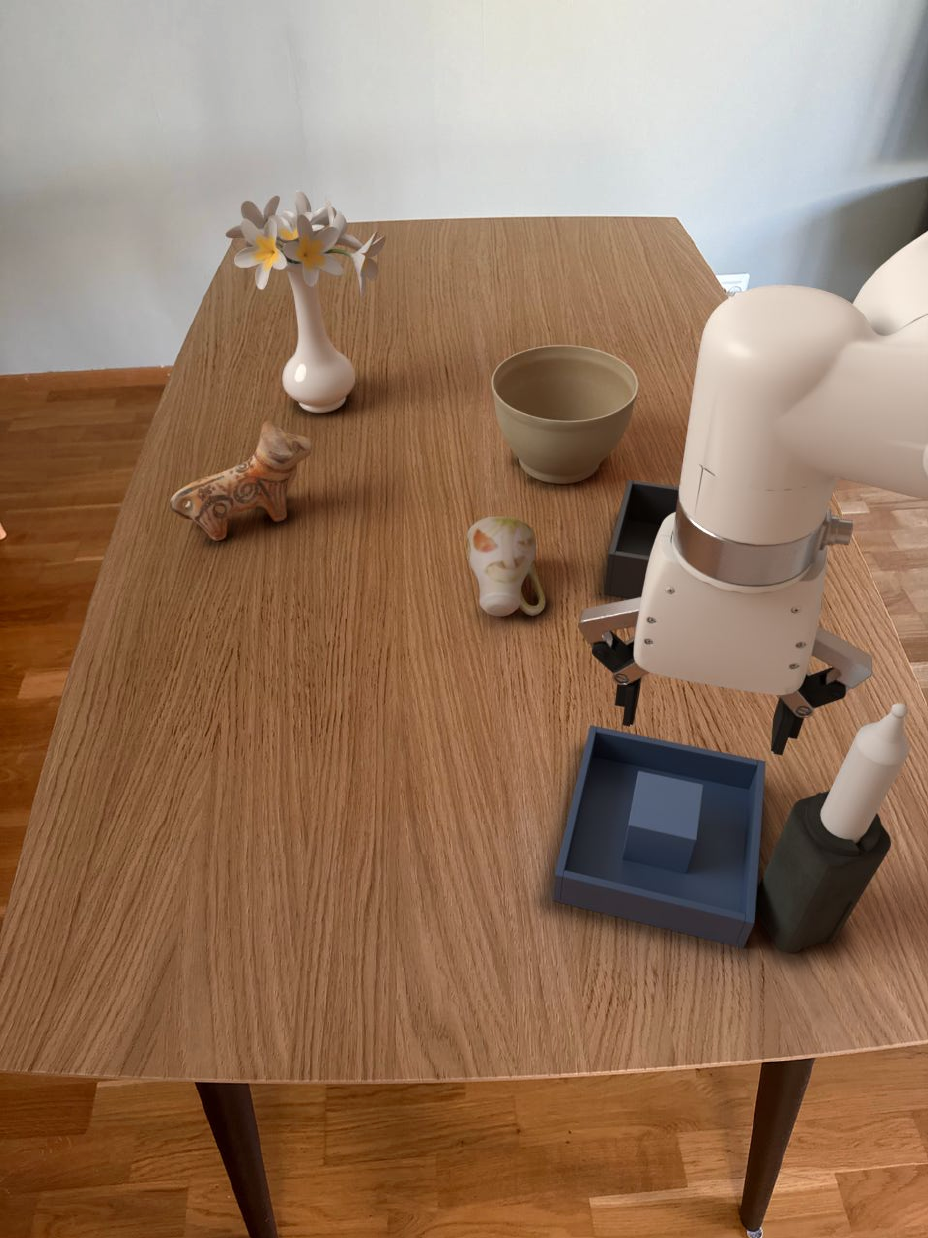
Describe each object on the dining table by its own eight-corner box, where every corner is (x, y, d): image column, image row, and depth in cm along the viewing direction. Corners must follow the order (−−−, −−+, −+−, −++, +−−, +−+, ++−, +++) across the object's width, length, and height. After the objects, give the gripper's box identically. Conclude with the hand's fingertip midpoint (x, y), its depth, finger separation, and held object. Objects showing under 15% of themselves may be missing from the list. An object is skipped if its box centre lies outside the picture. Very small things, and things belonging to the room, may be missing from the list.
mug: (465, 632, 90) (445, 533, 87) (486, 602, 98) (468, 511, 96) (540, 623, 87) (522, 522, 85) (554, 593, 96) (538, 501, 94)
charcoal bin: (735, 537, 98) (745, 496, 94) (726, 615, 90) (737, 574, 86) (622, 519, 101) (627, 479, 97) (603, 594, 92) (608, 553, 88)
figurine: (331, 514, 102) (318, 439, 95) (191, 560, 98) (166, 485, 90) (310, 482, 107) (296, 408, 100) (174, 524, 102) (150, 450, 95)
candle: (781, 958, 66) (888, 753, 48) (747, 895, 69) (835, 682, 51) (844, 938, 67) (972, 730, 49) (807, 877, 70) (913, 662, 52)
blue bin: (755, 789, 76) (765, 761, 73) (743, 948, 66) (754, 923, 64) (586, 753, 79) (590, 724, 76) (552, 901, 69) (554, 875, 67)
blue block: (693, 819, 73) (703, 784, 70) (686, 874, 70) (696, 840, 67) (631, 805, 74) (638, 770, 71) (621, 859, 71) (628, 824, 68)
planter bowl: (651, 487, 104) (663, 405, 97) (517, 515, 101) (518, 433, 94) (597, 412, 115) (605, 333, 107) (475, 436, 112) (473, 356, 105)
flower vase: (389, 430, 114) (369, 229, 96) (245, 424, 115) (200, 225, 98) (405, 375, 123) (390, 182, 105) (272, 370, 124) (235, 179, 106)
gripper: (915, 505, 49) (839, 705, 62) (597, 465, 53) (585, 660, 66) (923, 599, 44) (838, 796, 57) (572, 548, 48) (564, 742, 61)
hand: (702, 723), depth 61 cm, fingers open, 9 cm apart
